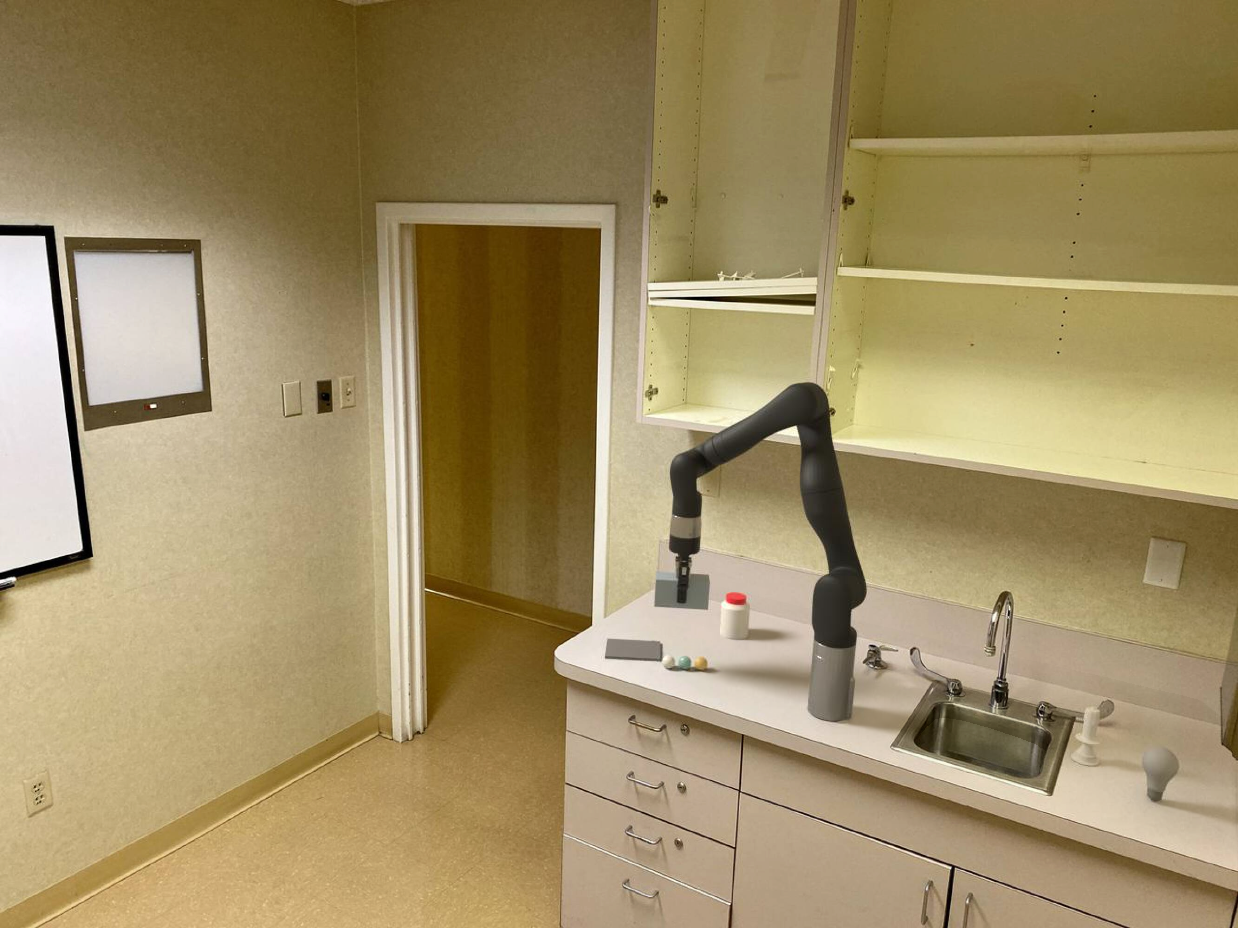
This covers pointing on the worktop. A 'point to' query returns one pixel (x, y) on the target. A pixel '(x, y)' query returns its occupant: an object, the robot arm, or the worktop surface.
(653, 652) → the mat
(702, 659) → the marble amber
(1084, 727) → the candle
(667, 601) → the cover
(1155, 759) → the lightbulb
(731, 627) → the pill bottle
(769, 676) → the worktop surface
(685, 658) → the marble teal
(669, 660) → the marble white
